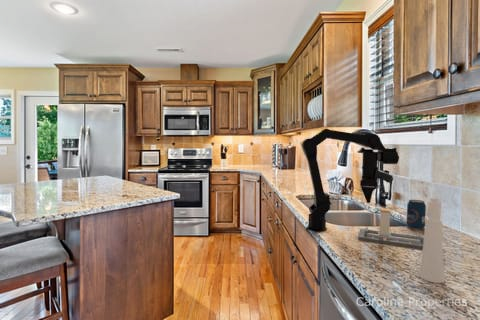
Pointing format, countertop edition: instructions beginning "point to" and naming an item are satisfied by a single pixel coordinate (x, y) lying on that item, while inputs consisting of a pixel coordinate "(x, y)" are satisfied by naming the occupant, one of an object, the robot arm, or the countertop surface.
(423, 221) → the soda can
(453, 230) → the countertop surface
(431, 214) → the cosmetic bottle
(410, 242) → the grey slider track
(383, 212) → the fader
